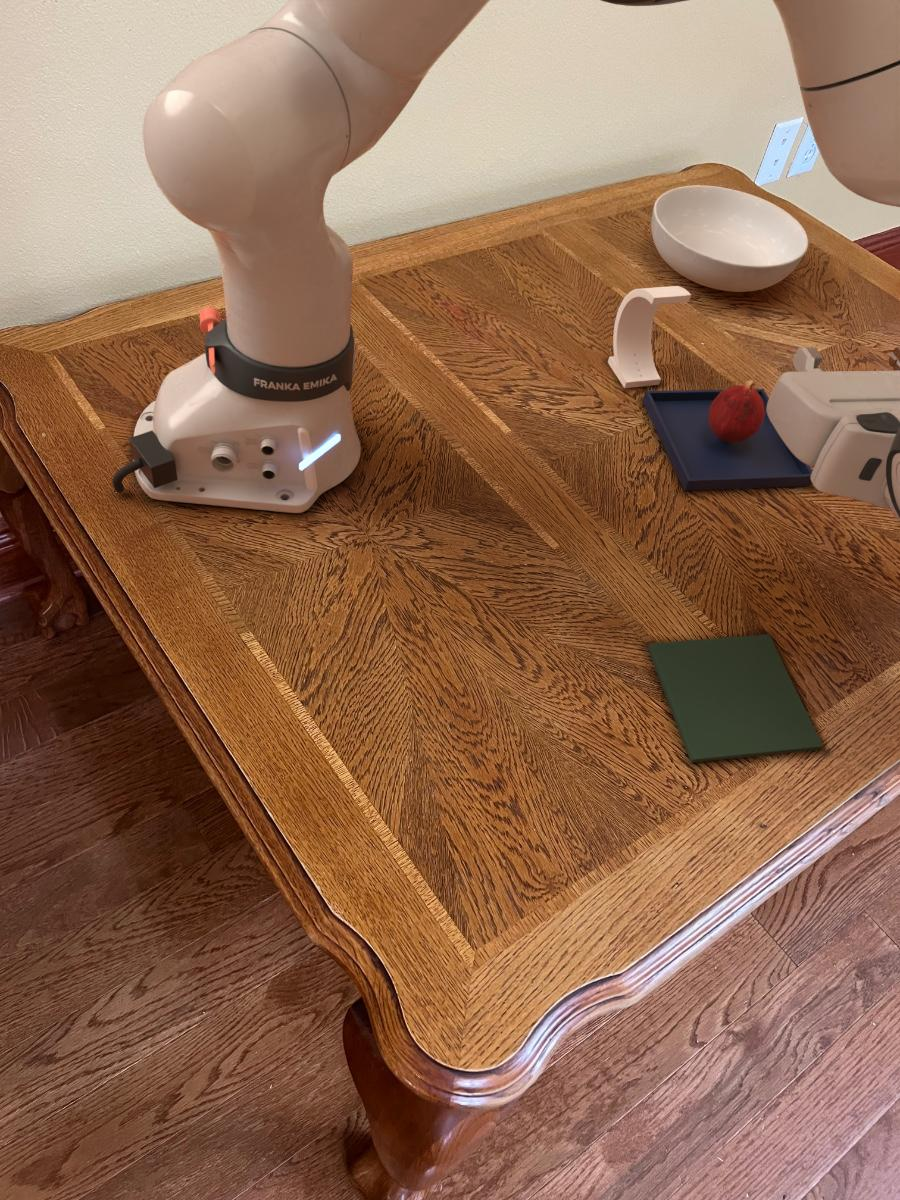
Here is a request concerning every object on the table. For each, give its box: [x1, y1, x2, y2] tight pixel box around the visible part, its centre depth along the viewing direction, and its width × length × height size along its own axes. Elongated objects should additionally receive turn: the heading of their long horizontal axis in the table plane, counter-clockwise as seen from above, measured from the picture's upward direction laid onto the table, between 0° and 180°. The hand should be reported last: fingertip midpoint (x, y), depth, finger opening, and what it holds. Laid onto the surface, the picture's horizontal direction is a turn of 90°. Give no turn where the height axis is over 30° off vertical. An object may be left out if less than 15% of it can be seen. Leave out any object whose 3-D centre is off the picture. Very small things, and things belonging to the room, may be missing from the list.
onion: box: [708, 379, 765, 443], centre depth 102 cm, size 6×6×8 cm
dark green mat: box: [646, 633, 824, 764], centre depth 83 cm, size 12×12×1 cm
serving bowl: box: [650, 184, 809, 293], centre depth 127 cm, size 21×21×7 cm
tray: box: [642, 388, 813, 492], centre depth 105 cm, size 15×15×2 cm
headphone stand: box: [607, 285, 692, 389], centre depth 107 cm, size 5×6×12 cm
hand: (851, 353), depth 82 cm, fingers open, 8 cm apart
